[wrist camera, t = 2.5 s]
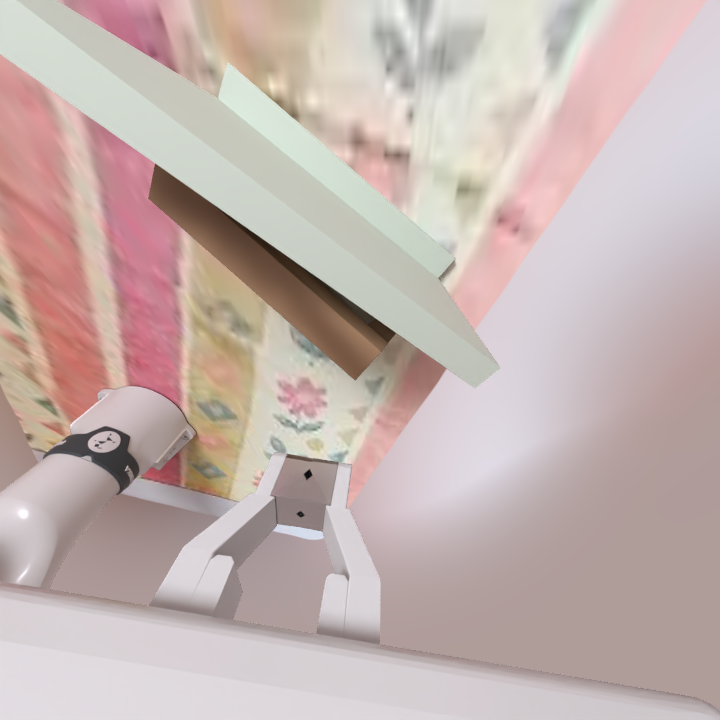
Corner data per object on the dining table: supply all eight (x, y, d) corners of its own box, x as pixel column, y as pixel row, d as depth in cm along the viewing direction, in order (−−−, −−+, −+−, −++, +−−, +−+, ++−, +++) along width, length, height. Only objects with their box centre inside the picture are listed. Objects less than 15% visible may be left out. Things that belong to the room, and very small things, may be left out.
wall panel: (412, 304, 37) (442, 413, 18) (208, 151, 29) (-103, 66, 10) (453, 256, 33) (545, 332, 14) (232, 66, 25) (-184, -300, 7)
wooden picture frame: (395, 332, 31) (355, 380, 18) (270, 223, 31) (148, 198, 19) (412, 312, 29) (381, 351, 17) (280, 199, 30) (156, 155, 17)
